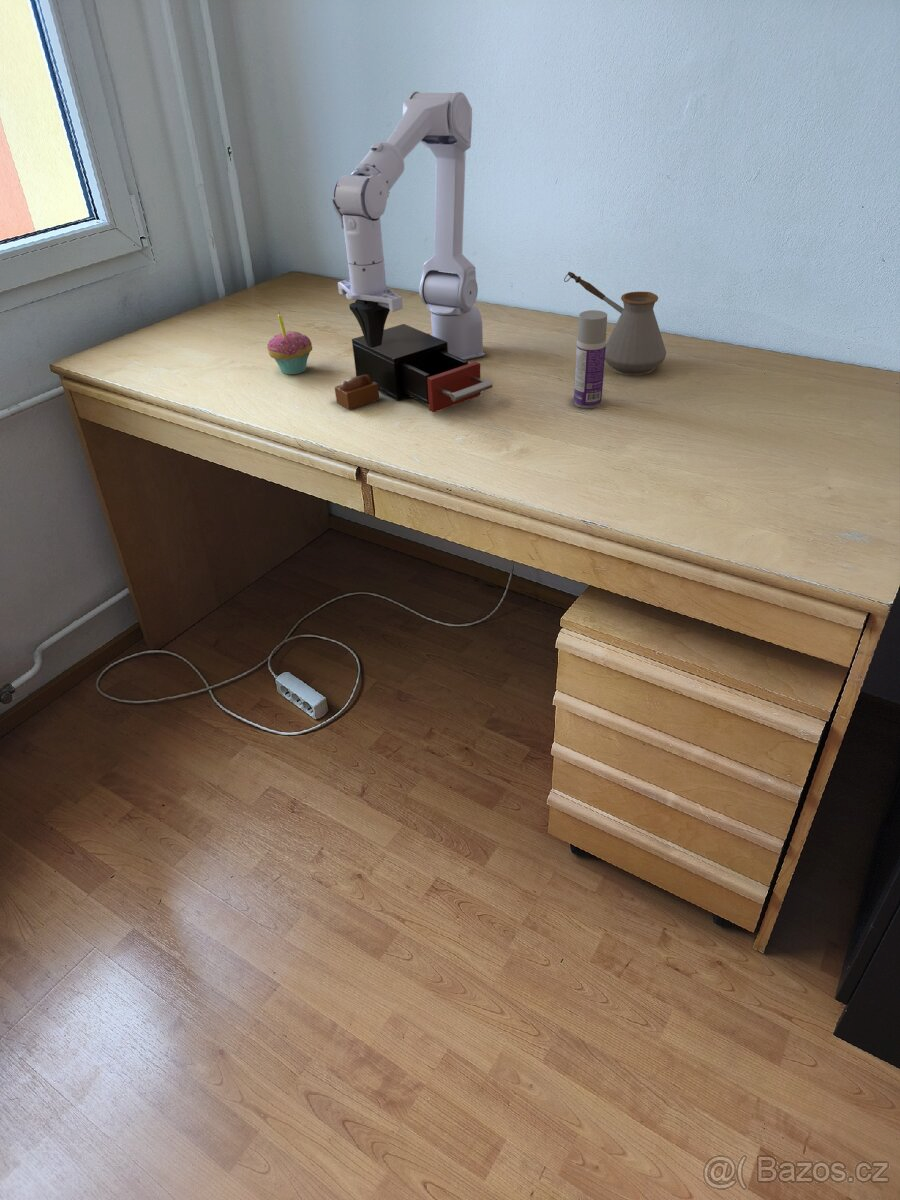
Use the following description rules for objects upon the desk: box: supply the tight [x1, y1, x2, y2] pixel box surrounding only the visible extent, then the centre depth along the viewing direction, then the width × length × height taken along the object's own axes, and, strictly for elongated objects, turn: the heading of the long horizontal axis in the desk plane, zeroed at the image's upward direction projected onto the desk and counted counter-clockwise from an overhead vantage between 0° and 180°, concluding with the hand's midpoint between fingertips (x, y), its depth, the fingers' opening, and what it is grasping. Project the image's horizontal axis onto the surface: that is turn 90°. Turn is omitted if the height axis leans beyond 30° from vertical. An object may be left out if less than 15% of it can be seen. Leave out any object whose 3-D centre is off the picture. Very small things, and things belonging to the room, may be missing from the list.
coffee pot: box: [563, 271, 667, 376], centre depth 146 cm, size 21×12×15 cm, turn 49°
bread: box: [334, 375, 380, 411], centre depth 140 cm, size 6×4×4 cm, turn 128°
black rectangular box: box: [351, 323, 448, 401], centre depth 146 cm, size 14×12×8 cm
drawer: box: [398, 349, 493, 414], centre depth 137 cm, size 17×10×6 cm, turn 38°
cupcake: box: [267, 310, 313, 375], centre depth 151 cm, size 9×8×12 cm
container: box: [573, 309, 608, 410], centre depth 132 cm, size 5×5×15 cm
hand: (374, 345), depth 134 cm, fingers closed
